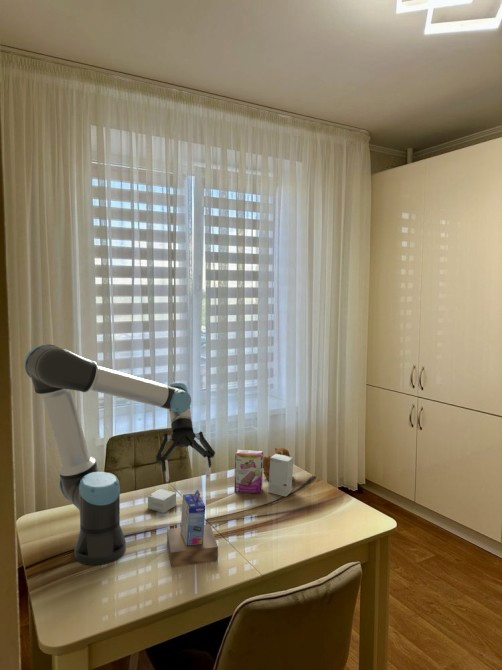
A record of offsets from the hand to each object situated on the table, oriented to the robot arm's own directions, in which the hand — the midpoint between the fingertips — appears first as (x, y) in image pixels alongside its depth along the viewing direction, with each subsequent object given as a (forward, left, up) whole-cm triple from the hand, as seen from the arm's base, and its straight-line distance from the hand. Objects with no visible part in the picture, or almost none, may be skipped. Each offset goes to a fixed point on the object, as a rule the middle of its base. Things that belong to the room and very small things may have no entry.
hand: (188, 478), depth 157 cm
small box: (-6, +22, -19) cm, 30 cm away
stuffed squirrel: (+46, +35, -19) cm, 61 cm away
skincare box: (+42, +21, -19) cm, 51 cm away
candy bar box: (+30, +26, -19) cm, 44 cm away
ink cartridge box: (-1, -12, -14) cm, 19 cm away
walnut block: (-1, -12, -19) cm, 23 cm away
